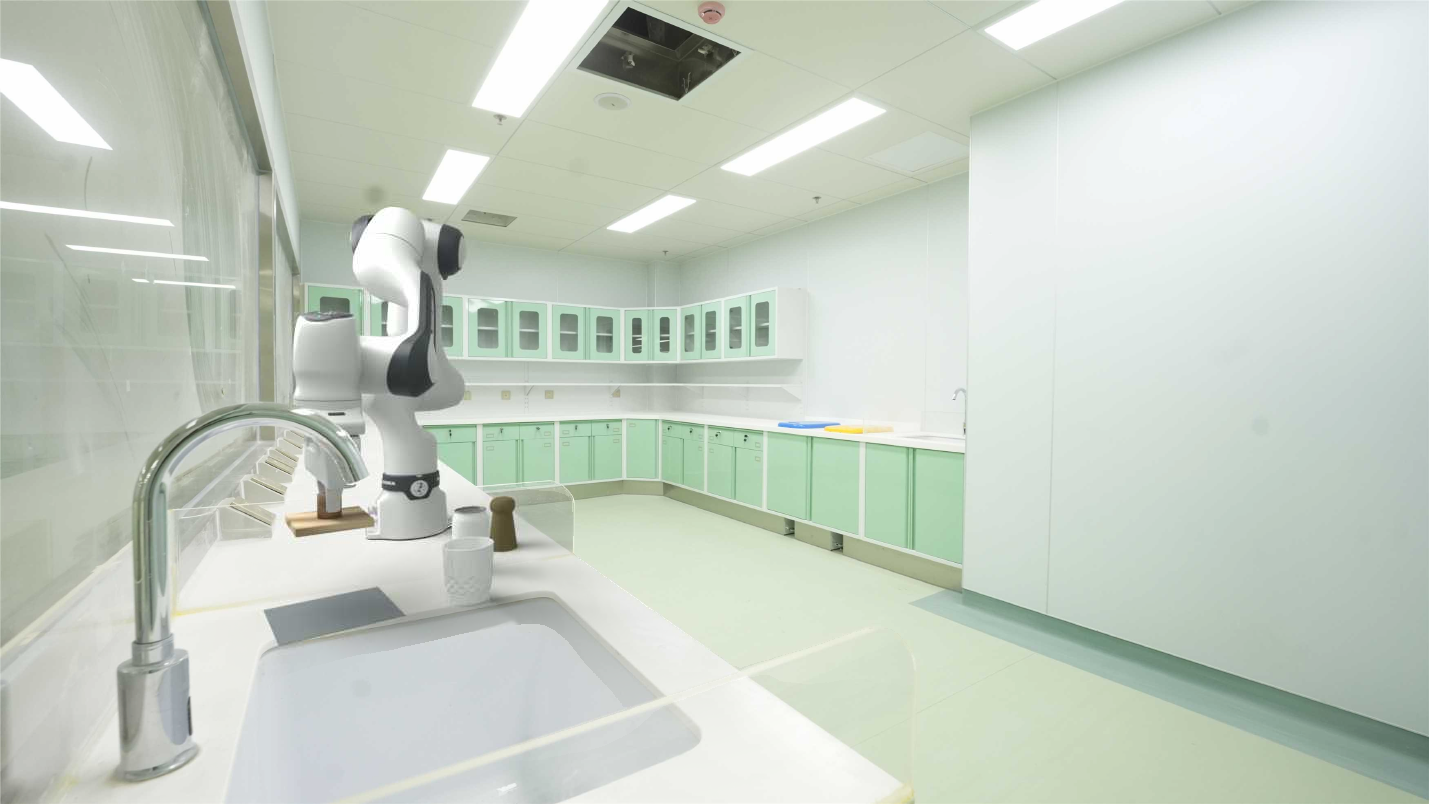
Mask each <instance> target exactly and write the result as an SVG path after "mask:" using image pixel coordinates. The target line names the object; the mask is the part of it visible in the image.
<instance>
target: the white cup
mask: <svg viewBox="0 0 1429 804" xmlns="http://www.w3.org/2000/svg"><path fill="white" fill-rule="evenodd" d="M493 550H494V541H493V540H492V539H490V538H486V537H464V538H458V539H453V540H452V539H451V540H448V541H445V542H444V543H443V544H442V564H443V578H444V588H445V596H446V597H445V598H446V603H448V604H449V605H452V606H456V607H462V606H463V607H466V606H467V607H468V606H472V605H478V604H482V603H484V602H486V601H488V602H491V590H492V584H493V571H494V569H493V568H494V567H493V566H494V552H493Z"/></svg>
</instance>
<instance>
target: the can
mask: <svg viewBox="0 0 1429 804" xmlns="http://www.w3.org/2000/svg"><path fill="white" fill-rule="evenodd" d="M489 519H490V517H489V514H488V511H487V508H486V506H480V505H470V506H461V507H458V508H455V509H454V514H453V516H452V517H451V520H452V526H451V540H453V539H458V538H464V537H486V538H489V536H490V531H489V530H490V529H489V527H490V525H489V522H490V521H489Z"/></svg>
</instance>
